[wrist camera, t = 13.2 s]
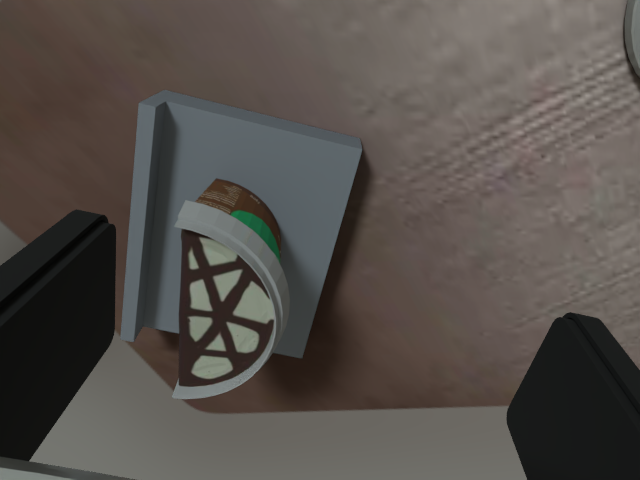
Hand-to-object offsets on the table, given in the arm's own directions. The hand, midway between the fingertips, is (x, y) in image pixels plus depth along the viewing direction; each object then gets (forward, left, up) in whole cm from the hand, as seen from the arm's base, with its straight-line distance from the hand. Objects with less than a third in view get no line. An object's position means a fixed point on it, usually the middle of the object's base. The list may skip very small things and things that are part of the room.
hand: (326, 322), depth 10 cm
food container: (+3, +11, -23) cm, 26 cm away
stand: (+4, +11, -26) cm, 28 cm away
